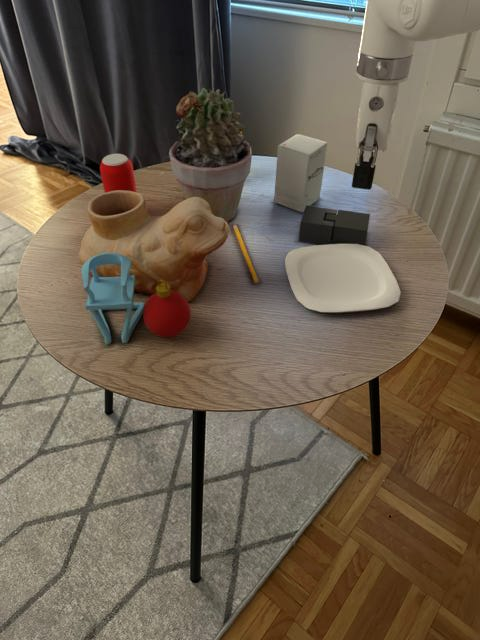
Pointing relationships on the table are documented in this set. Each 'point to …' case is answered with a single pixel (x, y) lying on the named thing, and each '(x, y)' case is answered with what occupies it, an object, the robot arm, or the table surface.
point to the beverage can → (117, 173)
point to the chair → (111, 293)
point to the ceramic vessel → (154, 241)
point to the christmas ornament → (166, 312)
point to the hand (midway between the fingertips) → (363, 174)
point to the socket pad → (316, 226)
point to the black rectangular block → (349, 227)
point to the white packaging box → (299, 171)
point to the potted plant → (211, 152)
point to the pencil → (245, 254)
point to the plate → (341, 278)
